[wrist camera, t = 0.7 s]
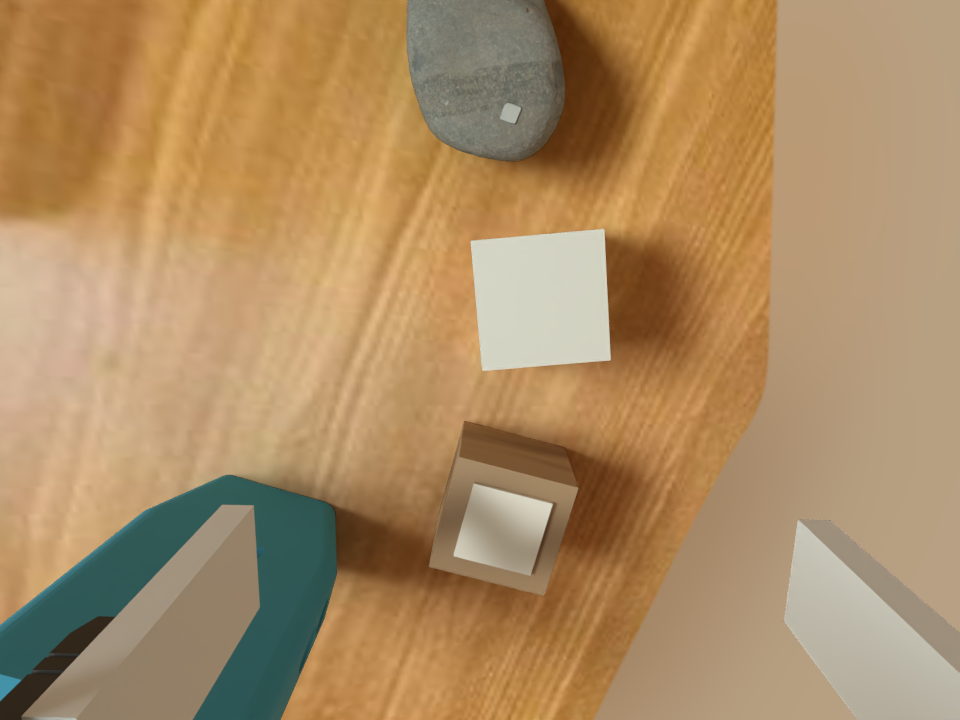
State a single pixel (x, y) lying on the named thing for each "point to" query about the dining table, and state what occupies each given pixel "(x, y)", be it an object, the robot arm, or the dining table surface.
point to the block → (144, 552)
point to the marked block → (504, 509)
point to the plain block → (542, 299)
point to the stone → (486, 74)
